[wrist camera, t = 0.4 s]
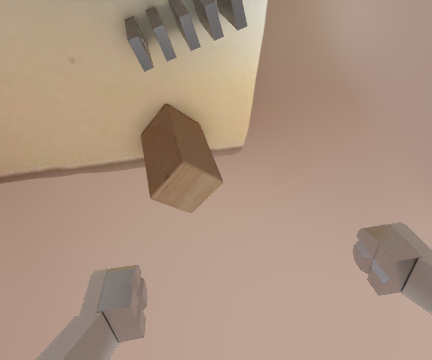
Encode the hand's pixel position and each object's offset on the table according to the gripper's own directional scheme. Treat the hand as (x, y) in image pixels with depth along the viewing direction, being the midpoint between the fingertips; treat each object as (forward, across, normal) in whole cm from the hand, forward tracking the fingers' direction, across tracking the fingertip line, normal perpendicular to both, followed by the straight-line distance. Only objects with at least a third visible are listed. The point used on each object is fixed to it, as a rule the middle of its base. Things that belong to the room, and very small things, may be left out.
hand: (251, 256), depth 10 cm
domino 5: (+51, -7, -8) cm, 52 cm away
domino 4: (+50, -3, -7) cm, 51 cm away
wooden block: (+55, +6, +17) cm, 58 cm away
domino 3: (+50, +1, -6) cm, 50 cm away
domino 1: (+50, +8, -3) cm, 50 cm away
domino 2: (+50, +5, -4) cm, 50 cm away
